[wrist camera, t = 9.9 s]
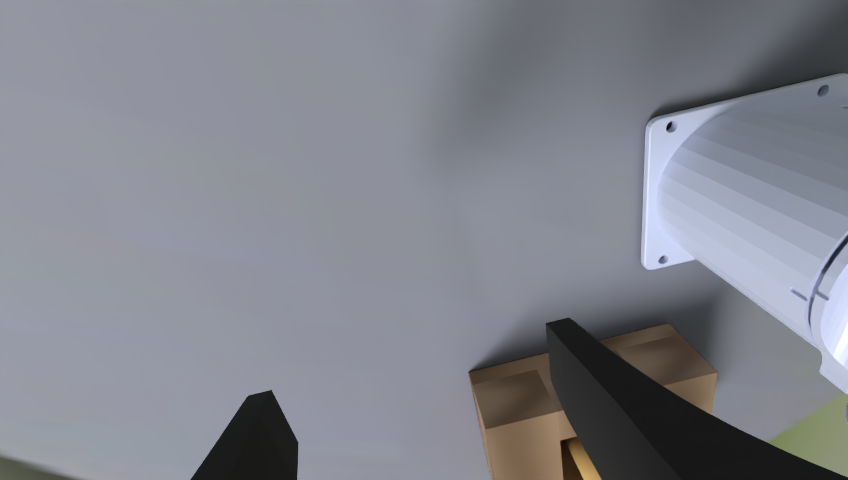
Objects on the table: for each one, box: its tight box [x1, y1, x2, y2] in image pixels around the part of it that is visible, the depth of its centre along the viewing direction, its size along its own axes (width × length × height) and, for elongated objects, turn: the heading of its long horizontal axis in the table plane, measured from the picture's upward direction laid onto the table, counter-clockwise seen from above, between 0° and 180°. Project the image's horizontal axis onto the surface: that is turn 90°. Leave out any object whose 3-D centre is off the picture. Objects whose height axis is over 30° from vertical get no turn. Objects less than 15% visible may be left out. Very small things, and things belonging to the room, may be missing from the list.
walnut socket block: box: [469, 323, 718, 480], centre depth 26 cm, size 12×9×4 cm
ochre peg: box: [564, 436, 602, 480], centre depth 23 cm, size 3×3×8 cm
